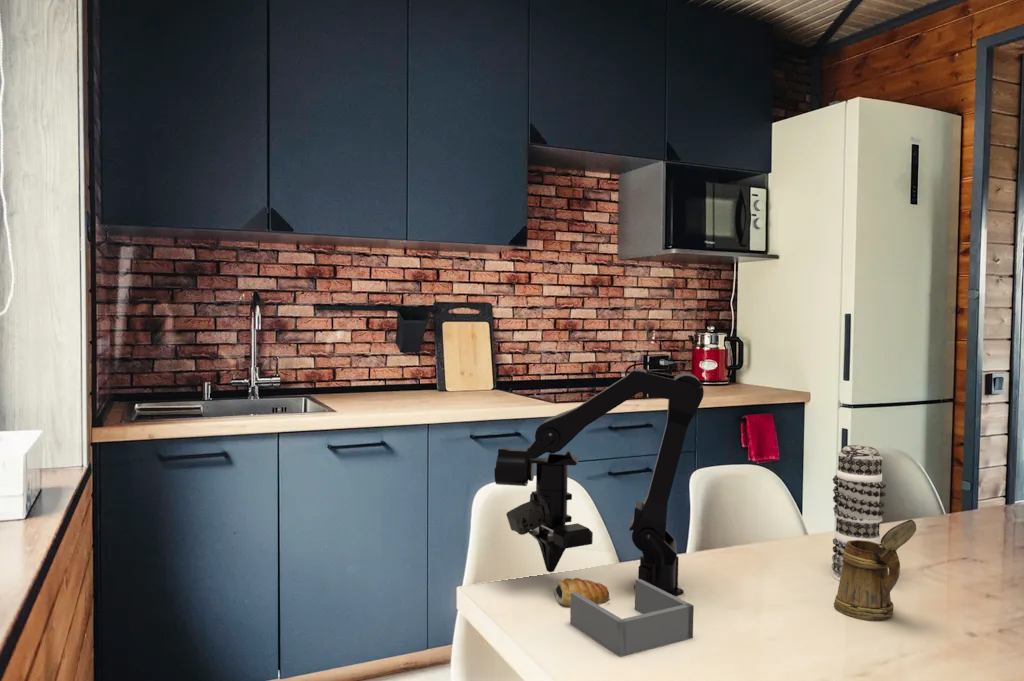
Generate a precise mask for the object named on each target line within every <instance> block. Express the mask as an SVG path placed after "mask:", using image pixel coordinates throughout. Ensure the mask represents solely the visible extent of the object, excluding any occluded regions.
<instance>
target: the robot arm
mask: <svg viewBox="0 0 1024 681" xmlns="http://www.w3.org/2000/svg"><path fill="white" fill-rule="evenodd" d="M704 392H705V391H704V387H703V385H702V383H701V381H700V379H699V378H698V377H697V376H696V375H695V374H692V373H688V372H681V373H678V374H677V375H672V374H668V373H662V372H655V371H649V370H645V369H644V368H640V367H638V368H634V369H632V370H631V371H630V372H628V374H626V375H625V376H624V377H621V379H619V380H617V381H615V382H614V383H612V384H611V385H610V386H608V387H606V388H605V389H603V390H601V391H600V392H598V393H597V394H595V395H594V396H592V397H591V398H589V399H588V400H586V401H585V402H583V403H582V404H580V405H579V406H577V407H574V408H572V409H569V410H566V411H563V412H561V413H559V414H556V415H553V416H551V417H549V418H547V419H545V420H544V421H542V423H541V424H540V425H539V426H538V427H537V428H536V431H535V435H534V439H535V440H534V442H533V443H531V444H530V445H528V447H527V449H523V448H521V449H520V448H509V447H504V446H502V447H500V448H498V449H497V456H496V457H497V458H496V463H495V467H494V472H493V473H494V483H495V484H496V485H500V486H501V485H502V486H518V487H527V486H528V484H529V482H533V481H534V477H536V480H535V488H536V489H535V491H531V494H529V495H530V496H529V501H527V502H525V503H522V504H520V505H518V506H516V507H514V508H512V509H511V510H509V511H507V512H506V517H507V521H508V525H509V527H510V530H511V531H514V532H516V533H517V534H518V535H521V536H524V535H526V534H529V535H531V536H532V537H533V539H535V540H536V541H537V543H538V545H539V549H540V552H541V555H542V558H543V562H544V566H545V569H546V572H548V573H553V572H555V570H556V568H557V566H558V564H559V562H560V560H561V558H562V556H563V554H564V552H565V550H566V549H572V548H577V547H584V546H590V545H593V544H594V543H593V538H594V537H593V531H592V530H591V529H590V528H589V527H586V526H585V525H582V524H580V523H572V524H566V523H571V522H572V520H573V519H572V518H573V517H572V516H571V515H570V514H568V501H569V500H571V501H572V500H573V495H572V493H571V492H568V473H569V472H568V467H569V466H574V467H575V466H577V465H578V462H579V458H578V457H577V456H576V455H575V454H573V452H572V450H571V449H568V450H567V452H566V453H558V452H560V451H562V450H563V449H564V448H565V447H566V446H567V445H568V444H569V443H570V442H571V441H572V440H574V438H576V437H577V435H579V434H580V432H582V431H583V430H584V429H585V428H586V427H587V426H589V425H591V423H593V422H595V421H597V420H598V419H600V418H601V417H603V416H604V415H605V414H608V413H609V412H610V411H612V410H614V409H615V408H617V407H618V406H620V405H622V404H623V403H625V402H627V401H628V400H629V399H631V398H632V397H634V396H635V395H637V394H639V393H643V394H646V395H650V396H654V397H657V398H661V399H666V400H667V417H666V424H665V427H664V431H663V435H662V439H661V443H660V447H659V451H658V454H657V458H656V461H655V466H654V469H653V472H652V478H651V480H650V484H649V488H648V492H647V494H646V497H645V498H644V500H643V502H641V501H639V500H635V505H634V513H633V516H632V517H631V518H630V520H629V521H630V522H629V531H630V532H632V533H631V540H632V543H633V544H634V546H635V548H637V549H638V550H639V551H640V552H641V553H642V556H640V557H639V558H640V560H639V565H638V572H637V573H638V576H637V577H638V578H637V579H641V580H643V581H645V582H647V583H649V584H651V585H653V586H655V587H657V588H659V589H661V590H663V591H665V592H667V593H669V594H671V595H673V596H677V595H681V594H685V593H684V592H685V590H684V589H682V588H680V587H679V586H678V585H679V556H678V555H677V554H678V552H677V540H676V539H675V538H674V536H673V535H672V534H671V533H669V532H668V530H667V529H666V528H667V517H668V516H667V515H668V502H669V499H670V495H671V491H672V488H673V483H674V479H675V476H676V472H677V468H678V465H679V461H680V457H681V454H682V450H683V446H684V443H685V438H686V435H687V431H688V429H689V426H690V424H691V422H692V421H693V419H694V417H695V415H696V414H697V411H698V409H699V407H700V405H701V403H702V400H703V398H704ZM546 453H548V457H541V456H542V455H544V454H546ZM535 464H536V468H535ZM535 469H536V474H535ZM535 475H536V476H535ZM633 588H634V589H635V584H633Z"/></svg>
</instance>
